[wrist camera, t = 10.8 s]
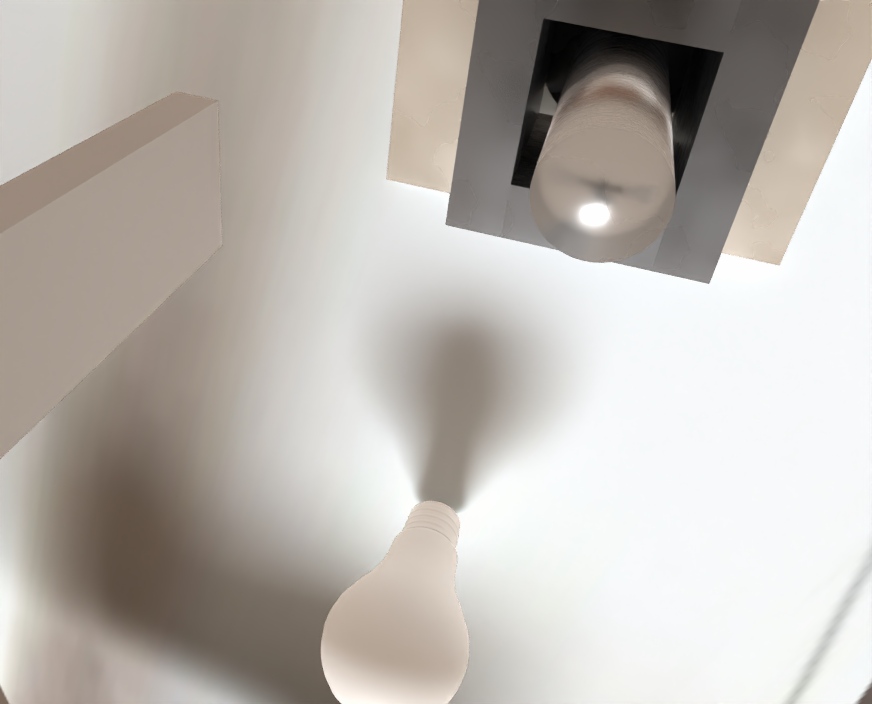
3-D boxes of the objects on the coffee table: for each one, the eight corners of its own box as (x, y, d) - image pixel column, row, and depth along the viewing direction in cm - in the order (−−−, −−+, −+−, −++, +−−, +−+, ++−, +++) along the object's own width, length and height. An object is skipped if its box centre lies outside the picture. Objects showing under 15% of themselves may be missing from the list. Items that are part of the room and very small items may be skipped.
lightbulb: (396, 444, 37) (313, 642, 28) (517, 490, 36) (473, 705, 28) (367, 524, 40) (286, 722, 31) (477, 567, 40) (427, 778, 31)
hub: (698, 193, 25) (709, 283, 20) (485, 148, 25) (445, 224, 21) (784, -49, 21) (823, -10, 16) (526, -94, 21) (488, -69, 17)
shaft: (775, 252, 27) (850, 520, 17) (393, 169, 29) (245, 367, 18) (952, -151, 20) (1269, -119, 10) (434, -232, 22) (231, -279, 11)
